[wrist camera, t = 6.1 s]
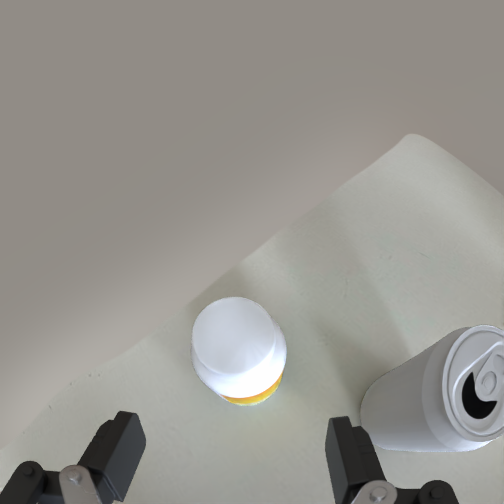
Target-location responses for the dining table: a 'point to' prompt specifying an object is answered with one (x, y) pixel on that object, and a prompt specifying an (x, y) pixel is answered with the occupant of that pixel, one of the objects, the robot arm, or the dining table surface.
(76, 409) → the dining table surface
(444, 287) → the dining table surface
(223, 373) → the supplement bottle
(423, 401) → the beverage can
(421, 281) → the dining table surface
